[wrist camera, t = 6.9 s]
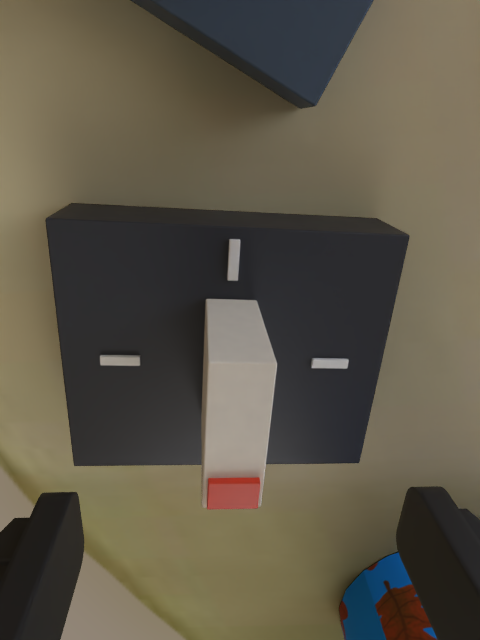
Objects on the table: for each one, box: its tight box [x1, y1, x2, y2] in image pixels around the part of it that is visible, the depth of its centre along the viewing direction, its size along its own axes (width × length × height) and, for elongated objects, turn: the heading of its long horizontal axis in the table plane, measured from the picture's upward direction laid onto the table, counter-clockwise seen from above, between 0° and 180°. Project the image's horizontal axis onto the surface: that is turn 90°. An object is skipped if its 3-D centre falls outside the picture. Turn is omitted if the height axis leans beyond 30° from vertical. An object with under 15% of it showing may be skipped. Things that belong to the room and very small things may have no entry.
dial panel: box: [46, 203, 409, 466], centre depth 17 cm, size 12×10×3 cm
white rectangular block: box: [201, 299, 277, 509], centre depth 14 cm, size 5×2×5 cm, turn 176°
